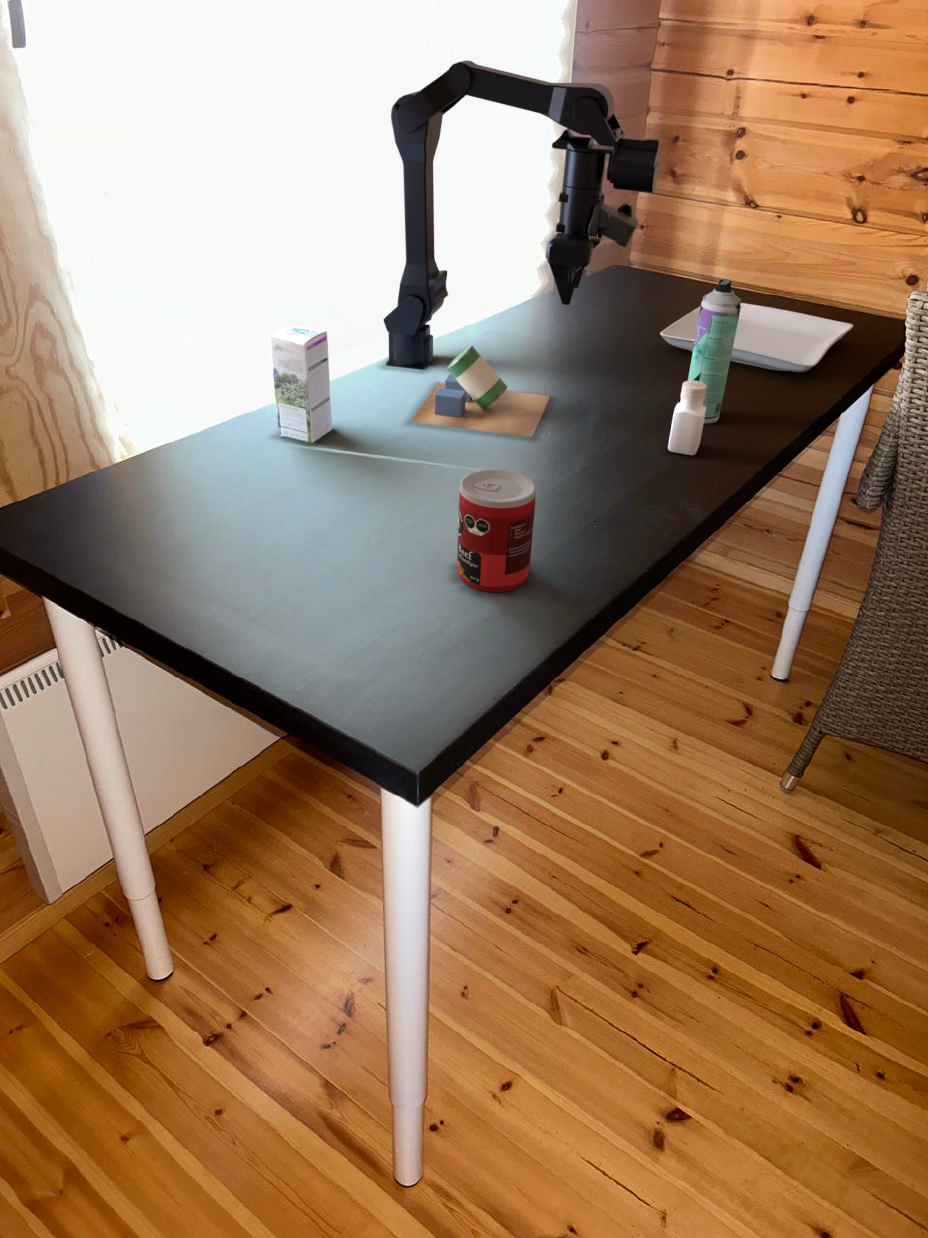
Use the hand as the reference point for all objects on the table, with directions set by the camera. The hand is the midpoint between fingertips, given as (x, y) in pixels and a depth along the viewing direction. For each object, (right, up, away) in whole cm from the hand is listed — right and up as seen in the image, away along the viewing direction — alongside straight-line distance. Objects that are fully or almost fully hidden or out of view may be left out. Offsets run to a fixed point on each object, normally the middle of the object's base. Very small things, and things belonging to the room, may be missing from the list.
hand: (570, 295), depth 145 cm
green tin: (-14, -17, -2) cm, 23 cm away
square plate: (+36, -1, +26) cm, 45 cm away
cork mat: (-13, -18, -2) cm, 22 cm away
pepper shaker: (+15, -26, -11) cm, 31 cm away
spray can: (+20, -19, -1) cm, 27 cm away
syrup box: (-39, -23, -11) cm, 46 cm away
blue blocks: (-18, -17, -1) cm, 24 cm away
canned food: (-13, -44, -40) cm, 61 cm away
